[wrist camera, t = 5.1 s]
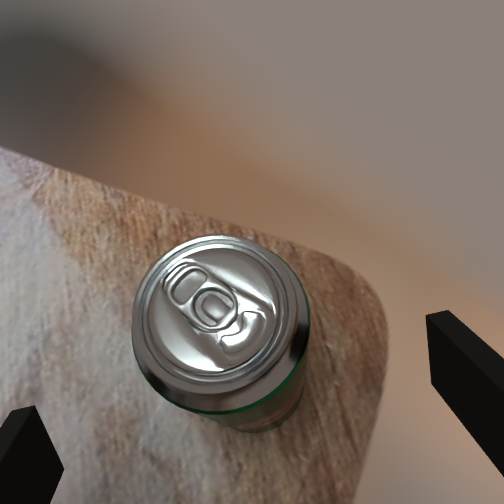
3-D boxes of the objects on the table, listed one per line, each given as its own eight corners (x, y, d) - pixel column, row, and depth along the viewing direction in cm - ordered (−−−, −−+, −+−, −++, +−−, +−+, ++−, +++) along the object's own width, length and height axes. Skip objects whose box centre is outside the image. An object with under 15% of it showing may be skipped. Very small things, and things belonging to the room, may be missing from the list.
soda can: (260, 457, 20) (218, 460, 10) (184, 385, 22) (77, 320, 11) (324, 373, 22) (352, 292, 11) (249, 311, 23) (208, 190, 13)
